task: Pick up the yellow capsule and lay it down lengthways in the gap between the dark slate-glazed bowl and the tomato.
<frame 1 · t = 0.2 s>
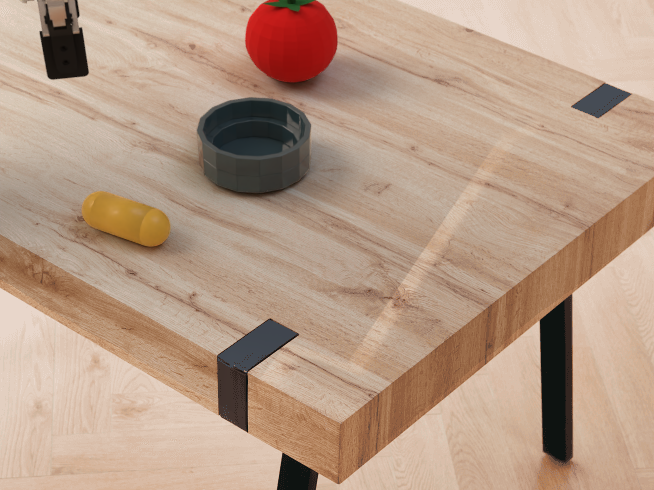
hand: (64, 46, 89), 19 cm above the table, tool pointing down, fingers open, 9 cm apart
tomato: (291, 76, 124), on the table
bowl: (255, 164, 110), on the table
yellow capsule: (128, 233, 101), on the table
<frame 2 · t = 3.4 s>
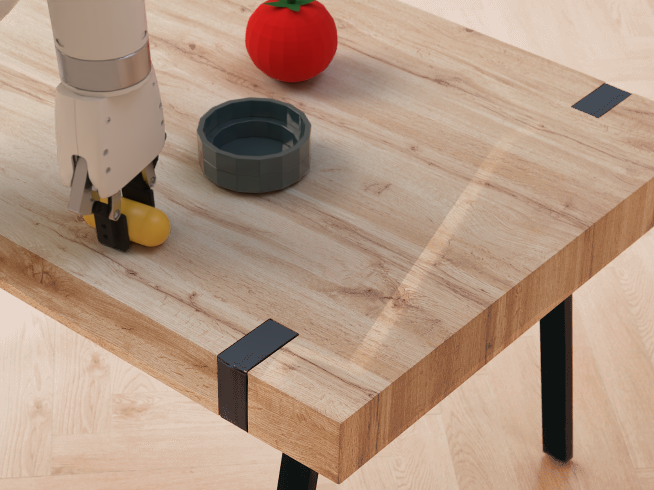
hand: (127, 231, 101), 0 cm above the table, tool pointing down, fingers closed on yellow capsule, 3 cm apart
yellow capsule: (128, 233, 101), on the table, touching gripper
everything else where it was.
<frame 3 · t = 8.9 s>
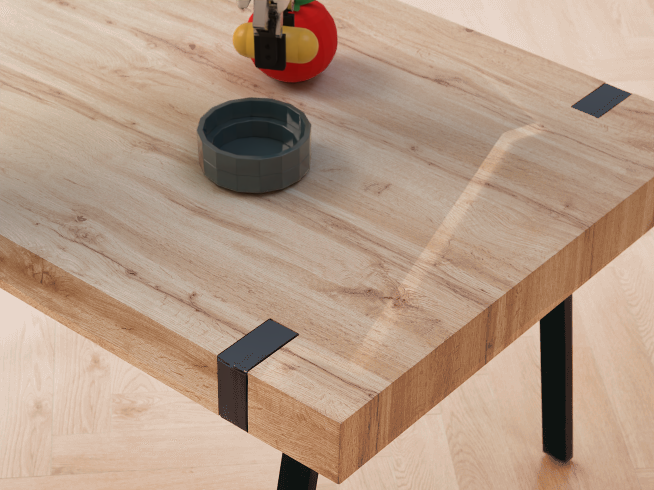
hand: (275, 56, 112), 7 cm above the table, tool pointing down, fingers closed on yellow capsule, 3 cm apart
yellow capsule: (275, 58, 113), point 7 cm above the table, touching gripper
everything else where it was.
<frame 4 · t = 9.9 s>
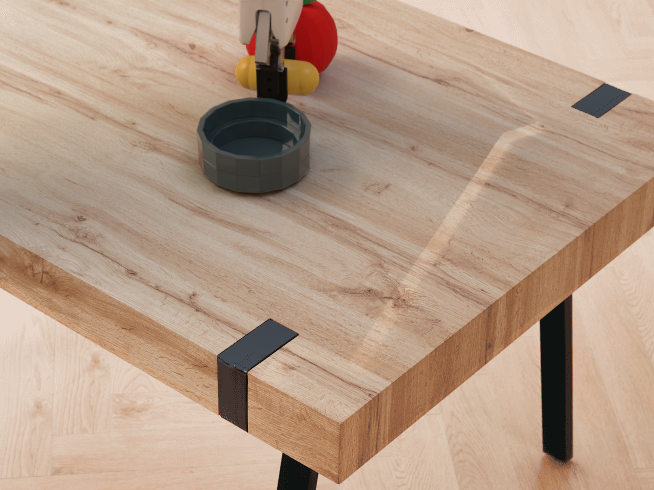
hand: (276, 88, 115), 3 cm above the table, tool pointing down, fingers closed on yellow capsule, 3 cm apart
tomato: (291, 77, 124), on the table, touching gripper
yellow capsule: (277, 90, 115), point 3 cm above the table, touching gripper
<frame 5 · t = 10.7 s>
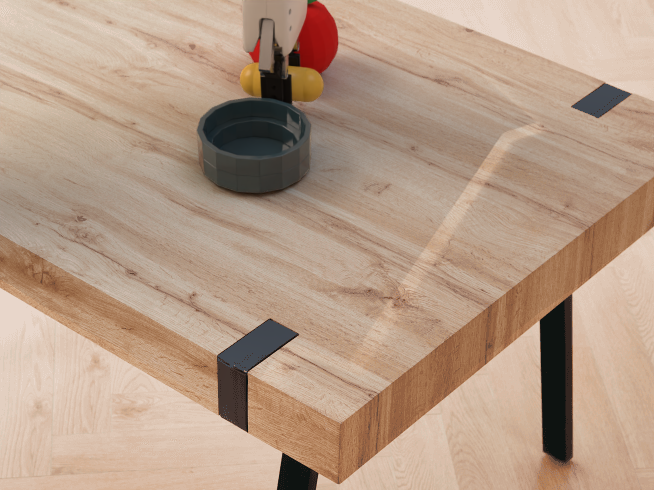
hand: (281, 94, 115), 3 cm above the table, tool pointing down, fingers closed on yellow capsule, 3 cm apart
yellow capsule: (282, 97, 115), point 3 cm above the table, touching gripper
everything else where it was.
when the fingers open (3 cm above the table, at t = 14.2 s): yellow capsule stays where it is, point 2 cm above the table.
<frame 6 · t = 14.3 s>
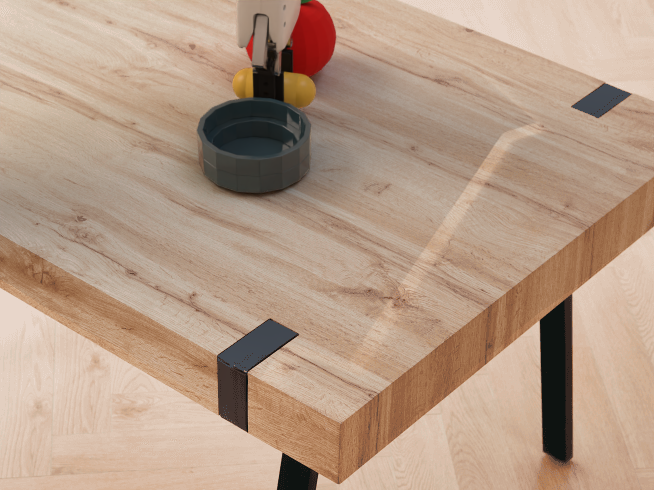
hand: (273, 91, 115), 3 cm above the table, tool pointing down, fingers open, 3 cm apart
yellow capsule: (274, 102, 116), point 2 cm above the table
everything else where it was.
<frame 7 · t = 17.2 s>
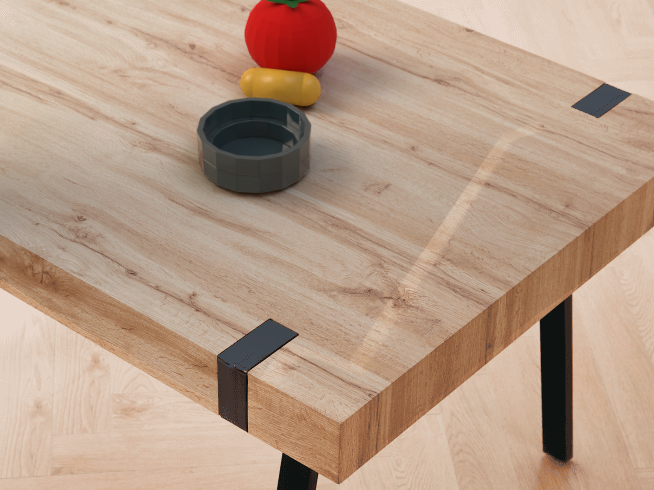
tomato: (291, 73, 124), on the table, touching yellow capsule
yellow capsule: (277, 91, 117), point 2 cm above the table, tilted 105°, touching tomato
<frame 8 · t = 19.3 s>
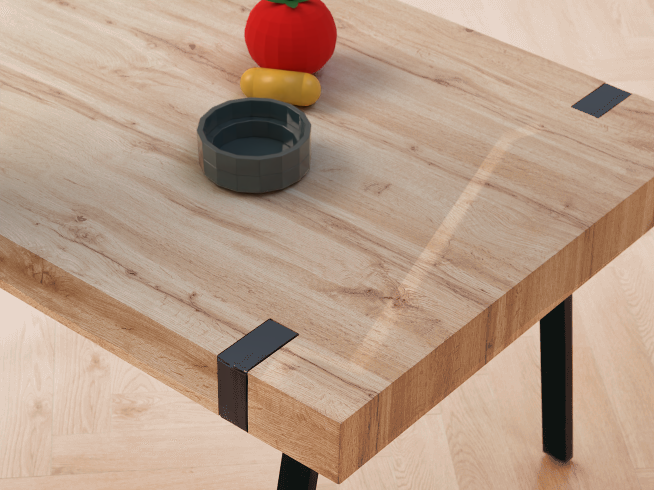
nothing on the table moved.
at the end: yellow capsule 1.3 cm from the target spot on the table beside the bowl, point 2.3 cm above the table; yellow capsule 8.2 cm from the tomato (horizontally); the gripper is holding nothing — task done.
